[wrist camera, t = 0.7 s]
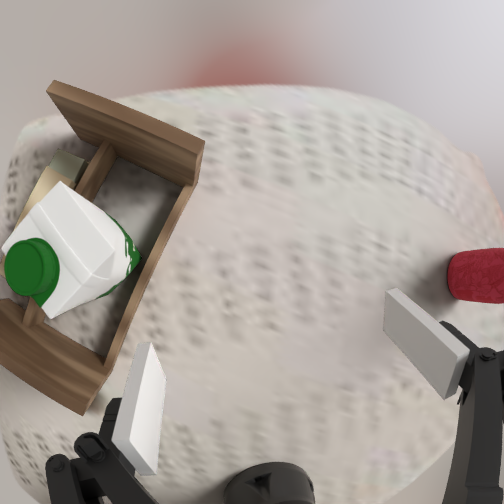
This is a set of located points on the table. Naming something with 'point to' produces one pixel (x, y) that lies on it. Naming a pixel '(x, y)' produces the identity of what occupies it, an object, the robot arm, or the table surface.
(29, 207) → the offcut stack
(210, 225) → the table surface
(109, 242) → the soya milk
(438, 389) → the robot arm
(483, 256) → the wine bottle
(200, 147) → the walnut rack
